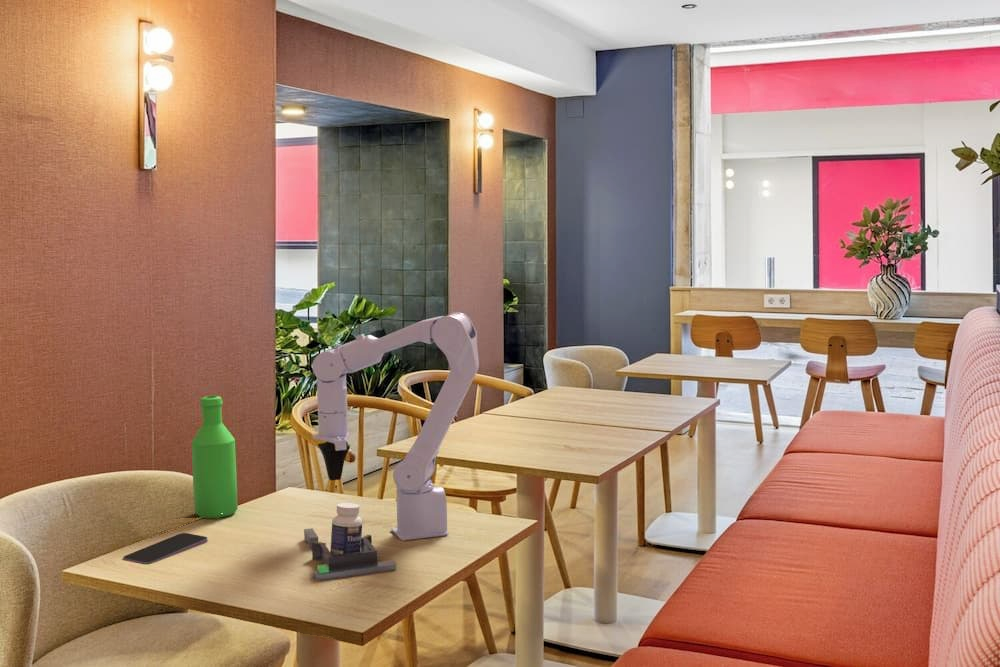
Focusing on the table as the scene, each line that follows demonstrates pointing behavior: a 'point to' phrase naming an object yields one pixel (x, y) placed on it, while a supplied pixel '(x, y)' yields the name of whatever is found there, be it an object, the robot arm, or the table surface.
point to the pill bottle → (346, 530)
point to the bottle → (214, 464)
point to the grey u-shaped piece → (310, 537)
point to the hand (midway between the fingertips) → (334, 479)
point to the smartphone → (166, 548)
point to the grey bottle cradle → (348, 561)
